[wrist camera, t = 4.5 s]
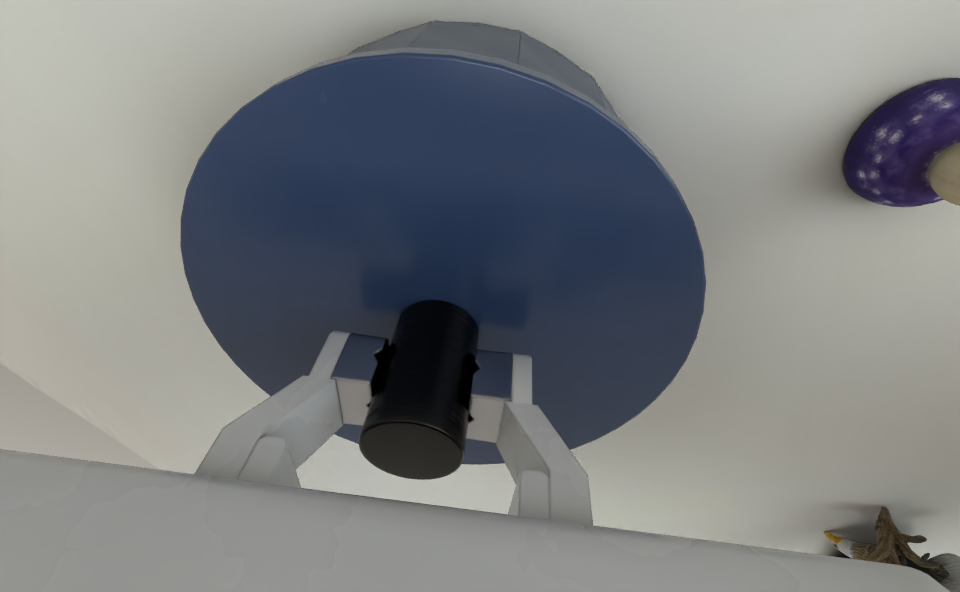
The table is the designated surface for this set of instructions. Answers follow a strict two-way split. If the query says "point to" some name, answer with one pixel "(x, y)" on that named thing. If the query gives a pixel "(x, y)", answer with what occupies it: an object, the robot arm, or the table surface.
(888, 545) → the eagle figurine
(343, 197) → the lid
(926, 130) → the toy lamp
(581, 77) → the pot
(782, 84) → the table surface
